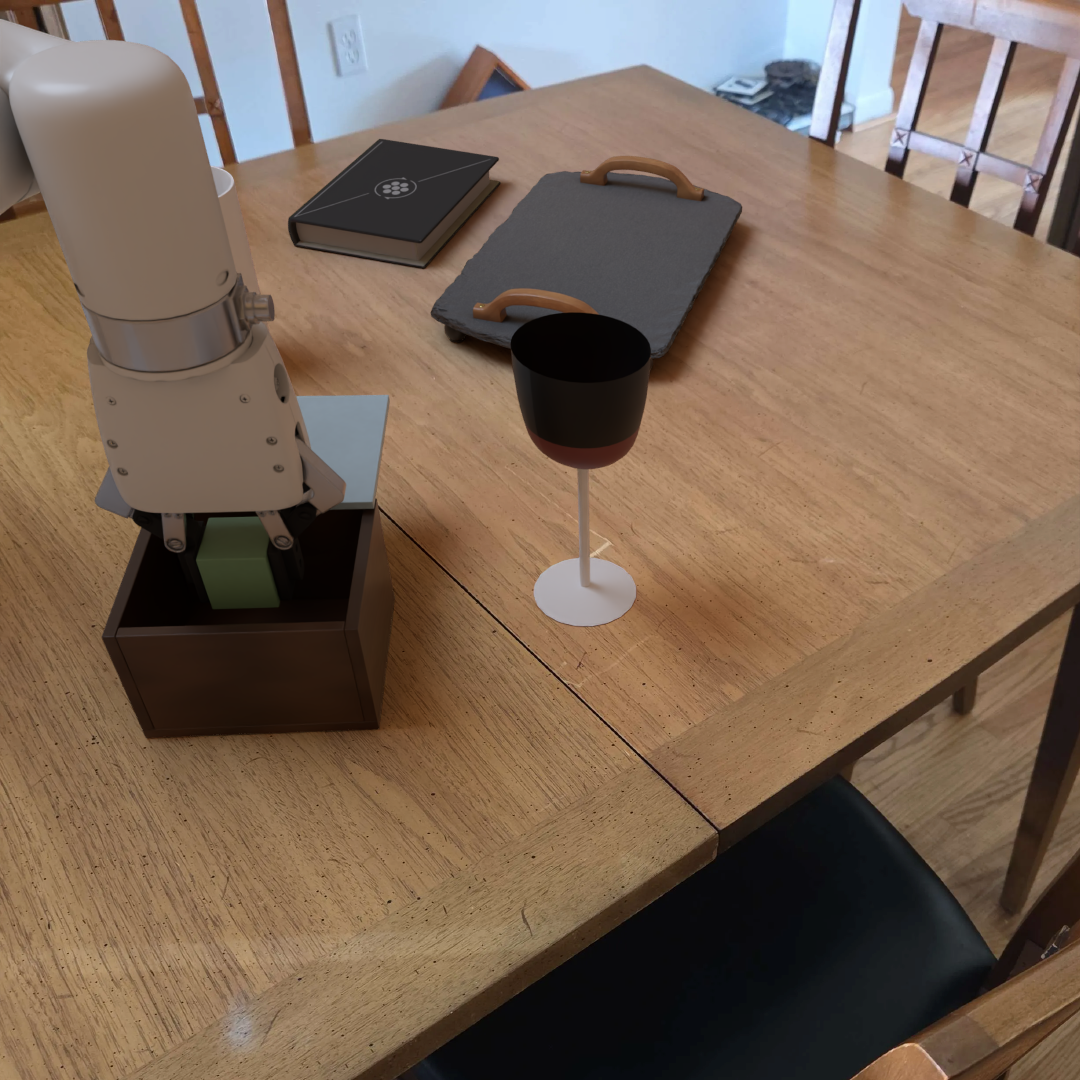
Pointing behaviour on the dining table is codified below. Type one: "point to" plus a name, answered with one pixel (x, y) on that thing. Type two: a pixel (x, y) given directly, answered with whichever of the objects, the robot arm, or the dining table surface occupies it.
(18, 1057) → the dining table surface
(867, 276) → the dining table surface
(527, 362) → the wineglass
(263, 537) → the block
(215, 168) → the cup
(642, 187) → the serving tray
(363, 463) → the sliding box lid
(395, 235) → the book
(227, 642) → the case
